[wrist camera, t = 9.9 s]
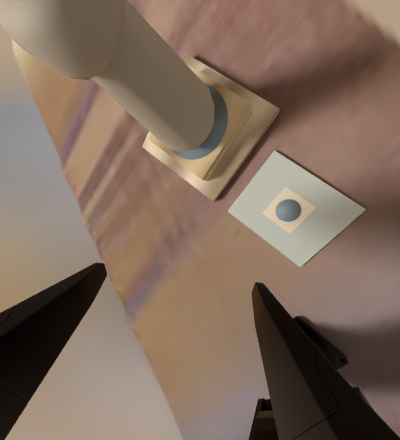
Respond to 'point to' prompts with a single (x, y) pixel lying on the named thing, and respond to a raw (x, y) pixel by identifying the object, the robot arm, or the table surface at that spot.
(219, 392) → the table surface
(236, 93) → the foundation
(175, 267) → the table surface
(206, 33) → the table surface
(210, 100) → the beige mushroom knob
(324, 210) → the pale grey rectangular tile
